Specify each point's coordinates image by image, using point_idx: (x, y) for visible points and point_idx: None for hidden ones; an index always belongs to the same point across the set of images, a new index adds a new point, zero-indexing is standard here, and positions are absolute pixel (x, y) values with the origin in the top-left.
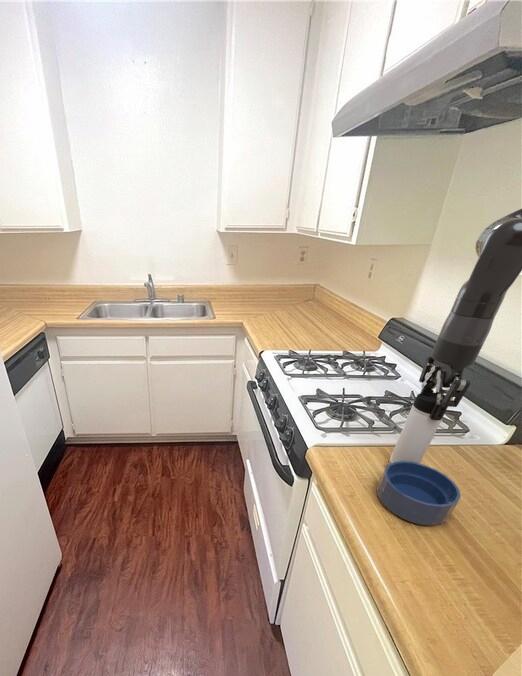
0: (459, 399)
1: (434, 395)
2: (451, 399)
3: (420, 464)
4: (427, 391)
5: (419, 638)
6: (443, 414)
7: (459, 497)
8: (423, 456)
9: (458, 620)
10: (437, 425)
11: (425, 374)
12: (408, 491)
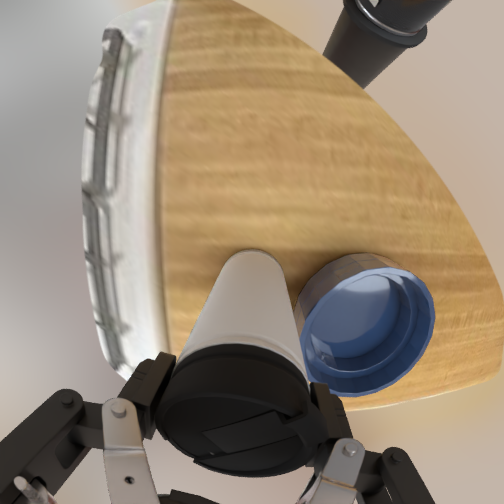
0: (418, 485)
1: (193, 416)
2: (357, 469)
3: (317, 308)
4: (151, 421)
5: (476, 379)
6: (343, 413)
7: (425, 287)
8: (278, 273)
9: (484, 343)
10: (297, 341)
11: (73, 465)
12: (333, 309)
